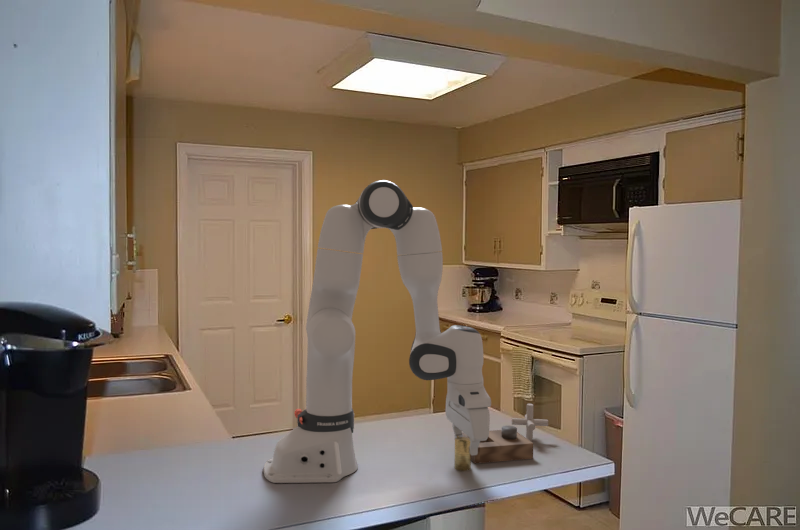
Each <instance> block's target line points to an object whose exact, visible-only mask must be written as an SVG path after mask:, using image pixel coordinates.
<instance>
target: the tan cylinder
mask: <svg viewBox="0 0 800 530" xmlns="http://www.w3.org/2000/svg"><path fill="white" fill-rule="evenodd" d="M470 442H471V441H470V438H467V437H458V438H455V437H454V462H453V463H454V464H453V465H454V466H453V467H454V470H456V471H459V472H467V471H471V469H472V460H471V454H470V453H469V448H468V446H470Z"/></svg>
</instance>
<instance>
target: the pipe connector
mask: <svg viewBox="0 0 800 530" xmlns="http://www.w3.org/2000/svg"><path fill="white" fill-rule="evenodd" d="M513 425H514V426H515V425H516V426H526V429H525V438H527V439H528V440H529V441H531V442H532V441H533V439H534V437H533V434H534V433H533V432H534V430H535V429H536V426H538V427H539V426H540V427H542V426H543V427H549V420H548V419H545V418H543V419H540V418H534V404H533V403H527V404H526V414H524V418H517V417H515V418H514V417H512V418H511V426H513Z"/></svg>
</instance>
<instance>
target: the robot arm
mask: <svg viewBox="0 0 800 530" xmlns="http://www.w3.org/2000/svg"><path fill="white" fill-rule="evenodd" d="M322 222H323V223H322V226H321V228H320V233H319V237H318V244H317V251H316V259H315V264H314V265H315V266H314V273H313V280H312V287H311V291H310V298H309V306H308V311H307V318H306V326H305V331H306V334H307V335H306V336H307V337H306V338H307V355H306V356H307V357H306V379H305V383H306V386H305V388H306V389H305V390H306V391H305V392H306V395H305V397H306V398H305V400H306V401H305V405H306V406H305V409H304V410H302V409H301V408H296V409H295V410H294V416H295V417H294V418H296V419H297V421H296V423H297V426H296V427H294V428H293V429H292V430H290V431H289V432H288V433H287V434H285V435H284V436H283V437H280V439H278V441H277V443H276V445H275V448H274V451H273V456H272V458H269V459H268V460H267V461H266V462H265V463H264V465H263V475H264V478H265V479H266V480H267V481H269V482H271V483H274V484H275V483H277V484H283V483H284V484H285V483H286V484H287V483H288V484H290V483H292V484H293V483H295V484H297V483H299V484H300V483H302V484H303V483H337V482H339V481H341V479H343V478H345V477H347V476H348V475H352V474H353V473H354V472H356V471H357V470H358V468H359V464H358V462H357V461H358V460H357V458H356V453H355V445H354V438H353V437H354V436H353V433H354V429H355V413H354V412H355V411H354V409H353V376H354V375H353V373H354V364H355V353H356V351H355V349H356V328H355V325H354V323H353V321H352V320H353V314H354V310H355V308H354V307H355V304H356V300H357V295H358V292H359V291H358V290H359V287H360V281H361V273H362V267H363V266H362V265H363V257H364V250H365V244H366V243H365V242H366V238H367V235H368V233H369V232H370V231H371V230H374V229H375V230H376V229H388V230H390V232H391V233H392V234H393V236H394V238H395V245H396V255H397V257H396V258H397V265H398V271H399V273H400V274H399V275H400V278H401V281H402V284H403V285H404V286H405V288H406V289H407V291H408V293H409V295H410V297H411V301H412V306H413V316H414V325H415V326H414V327H415V336H414V339H413V341H412V344H411V348H410V353H409V358H408V364H409V368H410V370H411V372H412V374H414V376H416V377H417V378H419V379H421V380H423V381H435V380H441V379H445V378H446V379H447V383H446V386H447V387H446V388H447V389H446V390H447V393H446V395H445V397H446V398H445V417H446V419H447V420H448V421H449V422H450V423H451V424H452V430H453V434H454V439H455V438H458V437H463V435H462V433H465V434H466V435H467V436H468V437H469V438H470V441H471V442H470V446H468V448H469V453H470V454H471V455H477V454H478V446H479V443H480V441H485V440H487V439H488V436H489V431H490V424H491V423H490V418H491V417H490V415H491V414H490V409H489V408H491V406H492V398H491V397H490V395H489V393H488V392H487V390H486V388H485V386H484V384H485V383H484V375H483V365H484V344H483V338H482V335H481V333H480V332H479V331H478V330H477V329H475V328H474V327H471V326H468V325H467V326H466V325H460V324H457V325H456V324H454V325H451V326H450V327H449V328H447V329H446V330H444V331H442V332H441V327H440V326H441V325H440V316H439V306H438V295H439V290H440V285H441V282H442V278H443V262H444V258H443V247H442V240H441V234H440V229H439V225H438V222H437V218H436V215H435V214H434V213H433V212H432V211H431V210H429V209H427V208H425V207H414V205H413V204H412V203H411V202H410V200H409V198H408V197H407V196H406V194H405V193H404V191H403V190H402V189H401V187H399V186H398V185H397V184H396V183H395V182H392V181H390V180H386V179H382V180H376V181H373V182H371V183H369V184H368V185H366V187H365V188H364V189H363V190H362V191H361V193H360V195H359V197H358V199H357V200H356V202H354V204H338V205H334V206H332V207H330V208H329V209H328V210H327V211H326V213H325V216H324V219H323V221H322Z"/></svg>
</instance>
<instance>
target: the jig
mask: <svg viewBox="0 0 800 530" xmlns="http://www.w3.org/2000/svg"><path fill="white" fill-rule="evenodd" d="M462 435H463V437H467V438H469V437H468V436H467V435H466V434H465V433H463V432H462ZM532 459H534V442H532V441H529V440H528V439H527V438H526V436H524V435H522V434H521V433H520V432H518V428H517V427H516V426H515V425H514V426H513V425H502V426H501V429H496V430H495V429H493V430H489V436H488V439H487V440H485V441H480V443H479V446H478V454H477V455H471V462H473V463H474V464H476V465H477V464H486V463H497V462H509V461H519V460H520V461H521V460H532Z"/></svg>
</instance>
